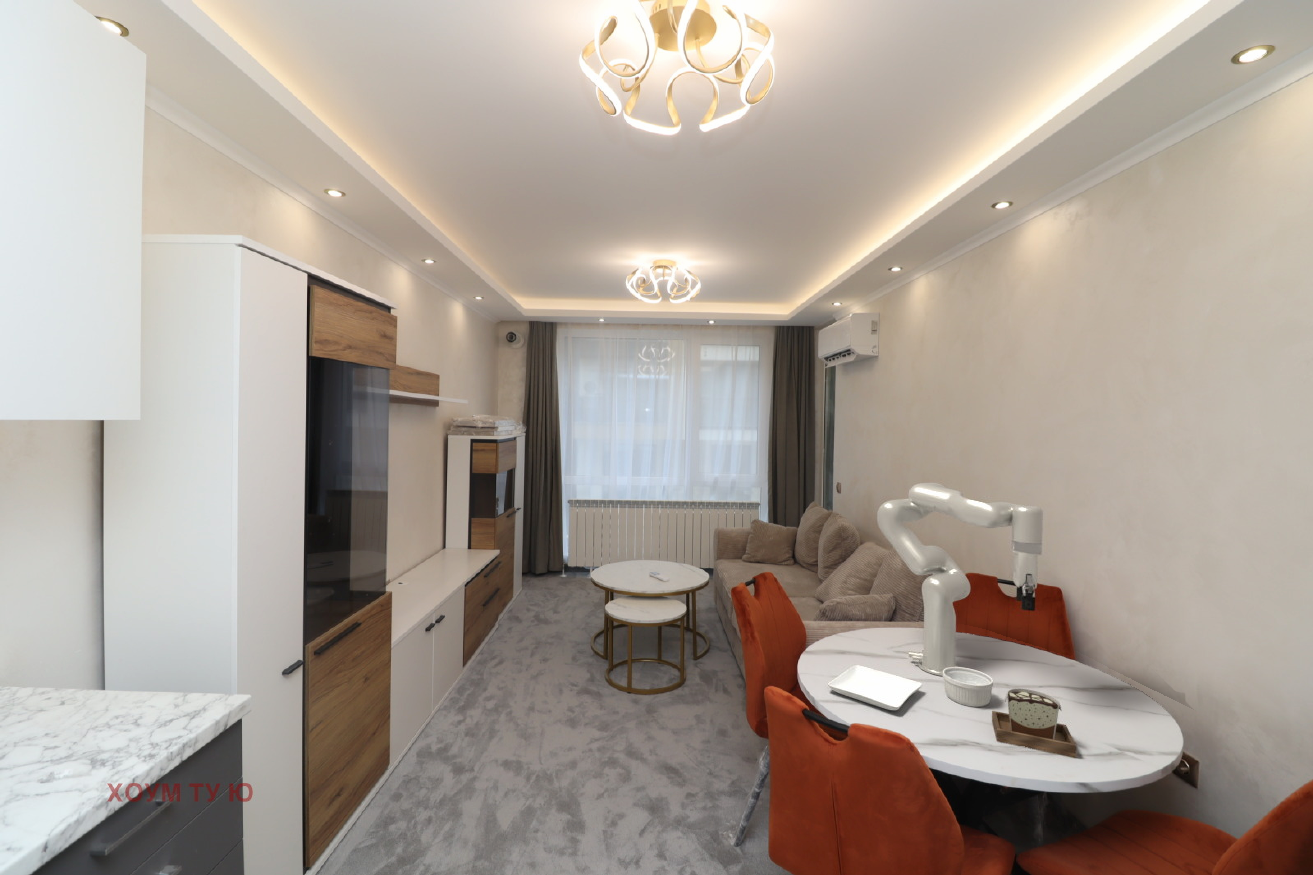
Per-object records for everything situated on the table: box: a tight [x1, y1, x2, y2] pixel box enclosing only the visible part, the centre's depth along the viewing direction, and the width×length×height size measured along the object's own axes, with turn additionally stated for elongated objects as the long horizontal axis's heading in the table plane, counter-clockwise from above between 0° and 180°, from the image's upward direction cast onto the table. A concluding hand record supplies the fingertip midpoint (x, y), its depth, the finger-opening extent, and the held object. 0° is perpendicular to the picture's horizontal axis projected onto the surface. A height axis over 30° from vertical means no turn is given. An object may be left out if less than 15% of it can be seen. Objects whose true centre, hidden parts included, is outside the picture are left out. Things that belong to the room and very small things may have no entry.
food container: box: [1004, 688, 1062, 740], centre depth 147 cm, size 12×6×10 cm, turn 68°
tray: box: [991, 710, 1077, 759], centre depth 145 cm, size 17×11×3 cm
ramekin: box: [942, 666, 994, 708], centre depth 168 cm, size 13×13×7 cm
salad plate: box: [827, 664, 923, 711], centre depth 170 cm, size 21×21×3 cm
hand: (1025, 605), depth 166 cm, fingers open, 9 cm apart
